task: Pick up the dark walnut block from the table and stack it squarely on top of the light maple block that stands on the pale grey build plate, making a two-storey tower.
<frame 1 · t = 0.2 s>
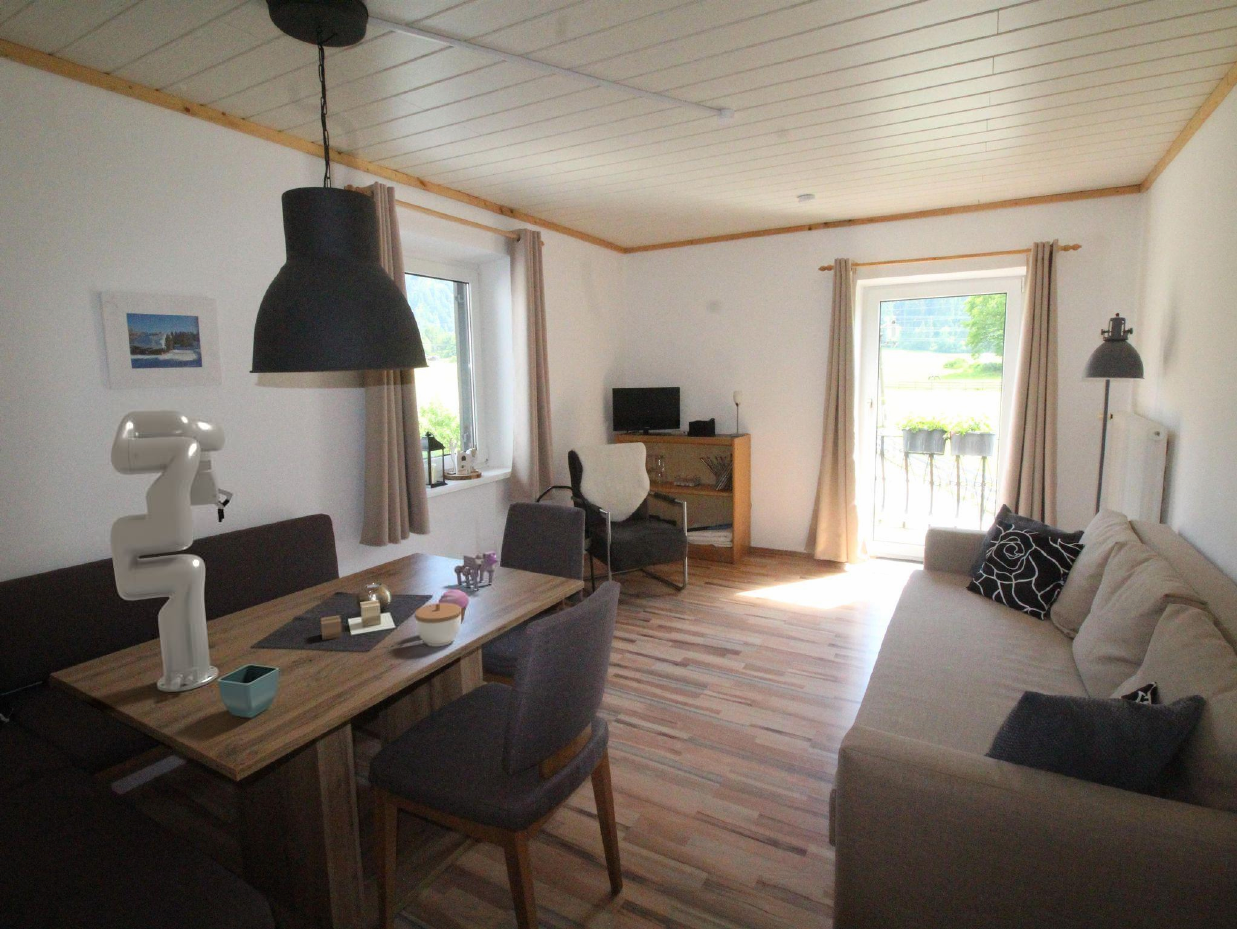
hand: (201, 523, 197), 31 cm above the table, tool pointing down, fingers open, 9 cm apart
cupcake: (454, 623, 198), on the table
flower pot: (251, 712, 145), on the table
build plate: (371, 626, 195), on the table
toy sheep: (481, 587, 233), on the table
maple block: (371, 623, 195), point 1 cm above the table, touching build plate
walnut block: (332, 639, 186), on the table
lidded bowl: (439, 642, 184), on the table
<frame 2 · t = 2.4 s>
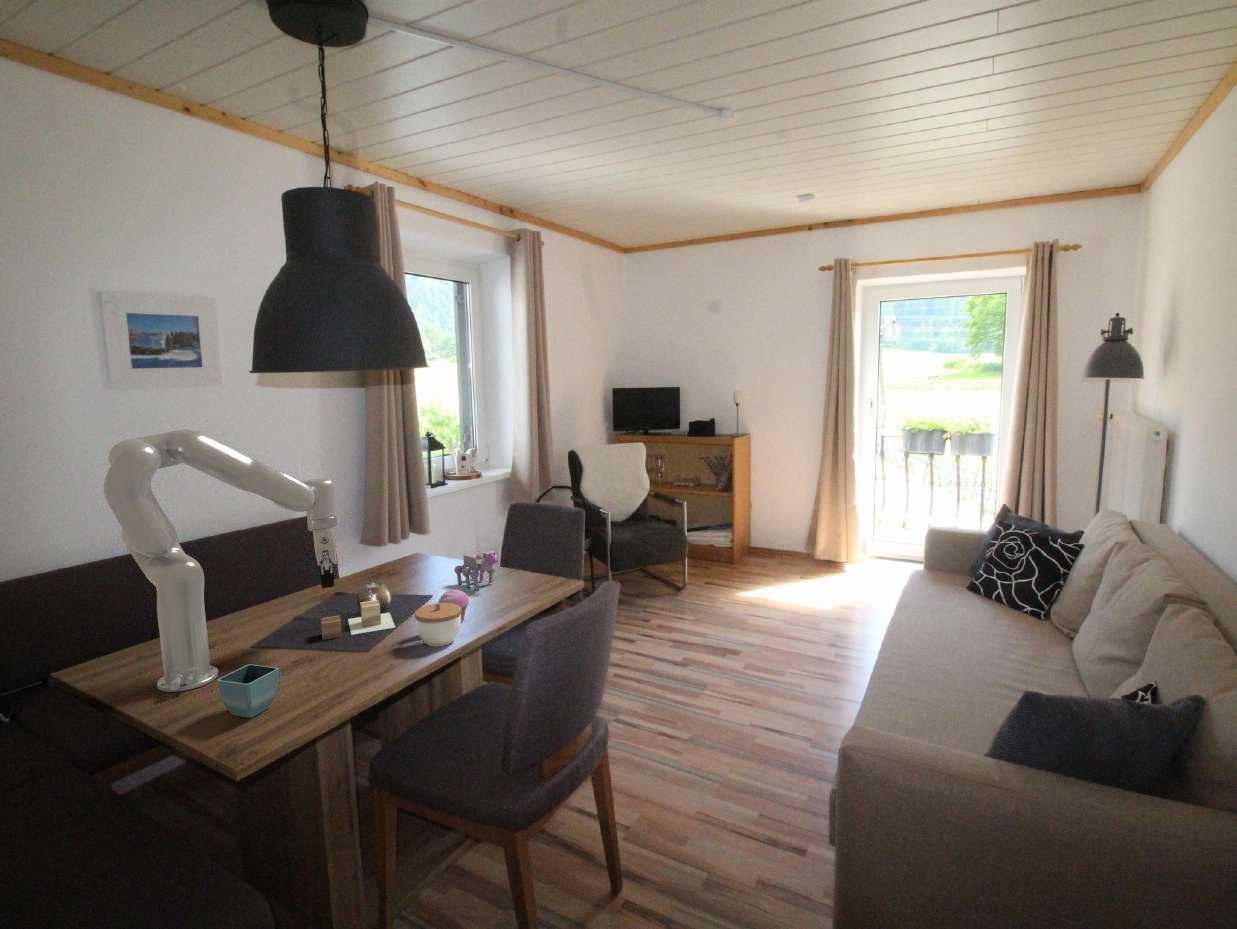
hand: (327, 582, 184), 17 cm above the table, tool pointing down, fingers open, 9 cm apart
nothing on the table moved.
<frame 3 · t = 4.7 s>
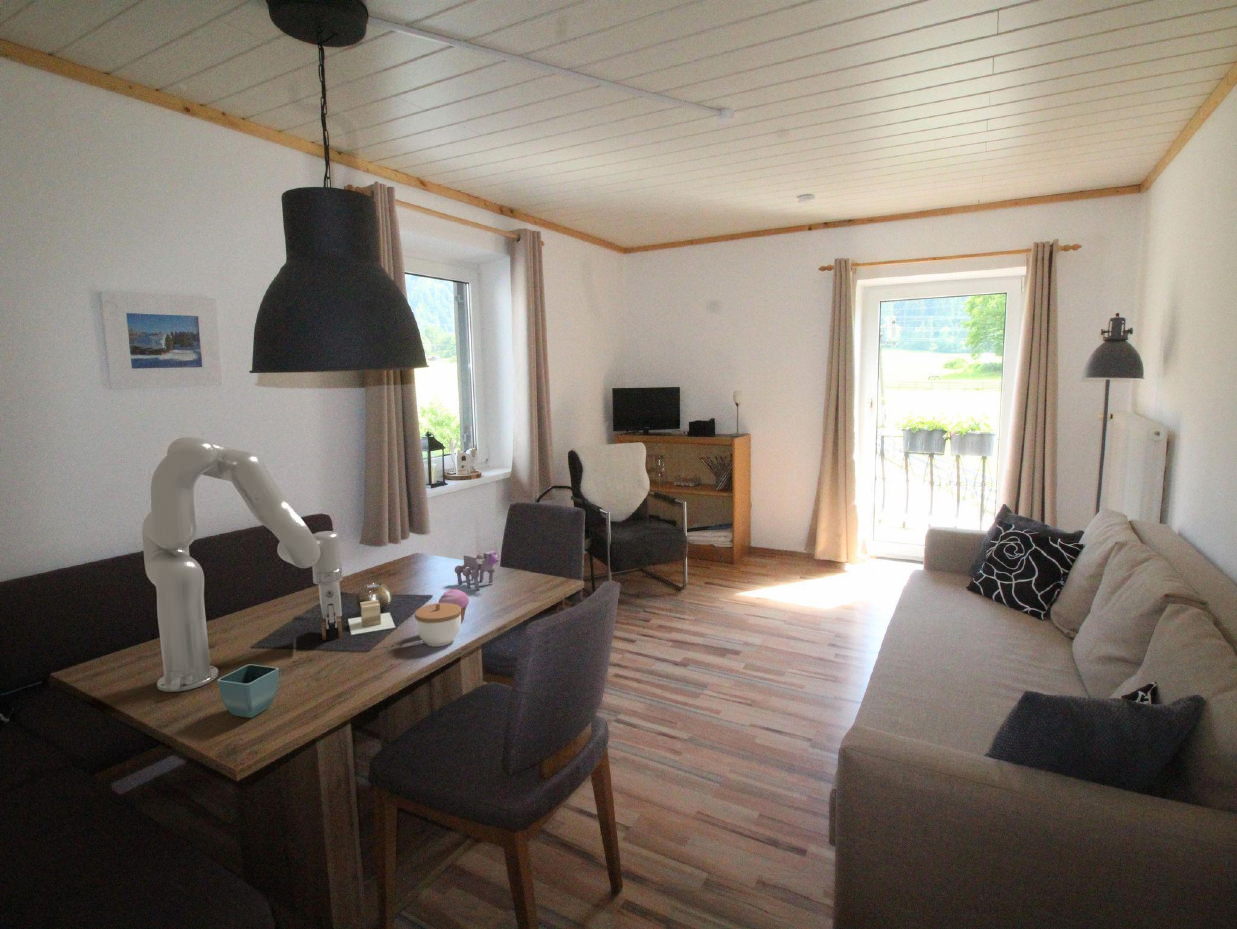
hand: (332, 637, 186), 1 cm above the table, tool pointing down, fingers closed on walnut block, 5 cm apart
walnut block: (332, 639, 186), on the table, touching gripper
everything else where it was.
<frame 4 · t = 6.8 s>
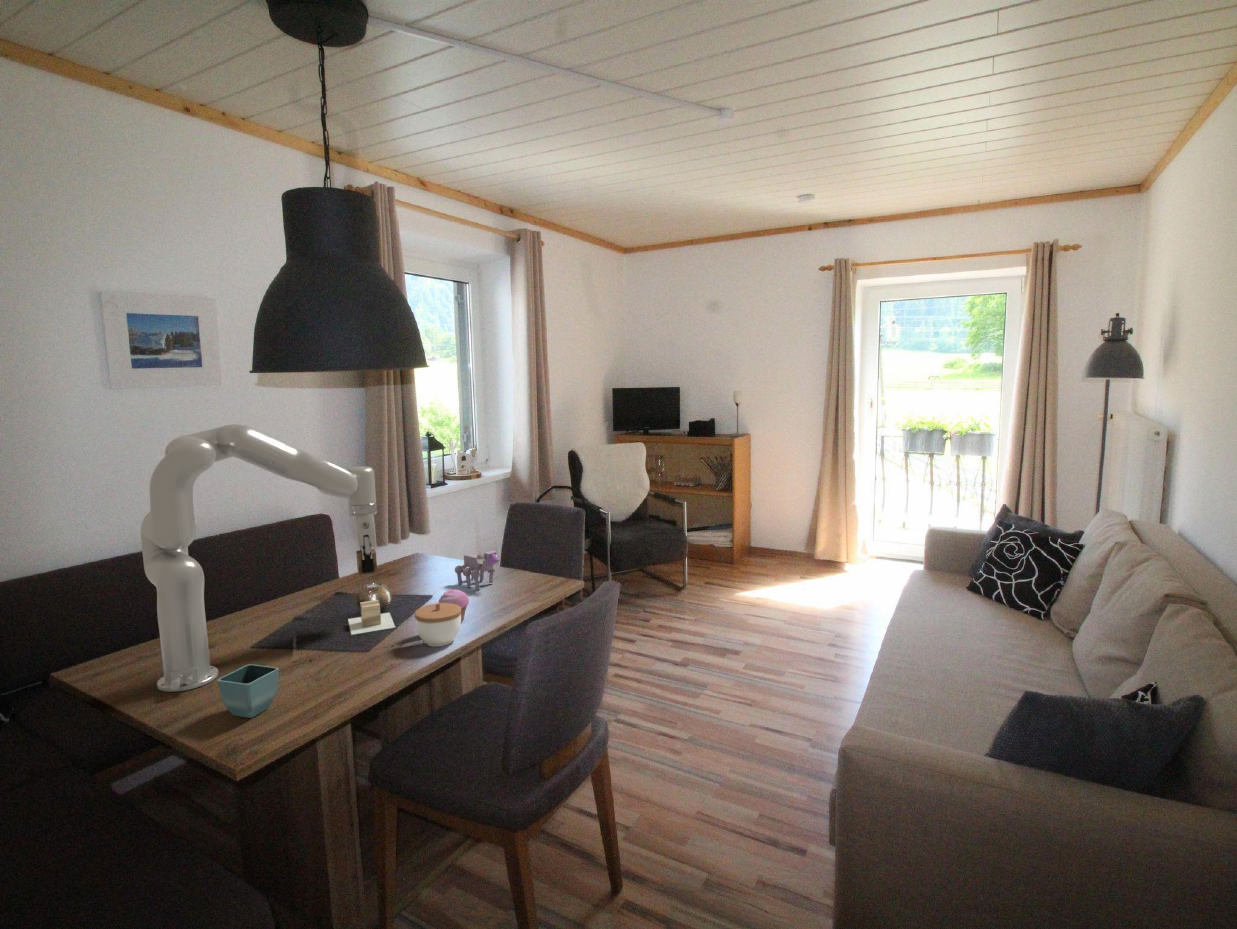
hand: (367, 569, 193), 18 cm above the table, tool pointing down, fingers closed on walnut block, 5 cm apart
walnut block: (367, 571, 193), point 17 cm above the table, touching gripper
everything else where it was.
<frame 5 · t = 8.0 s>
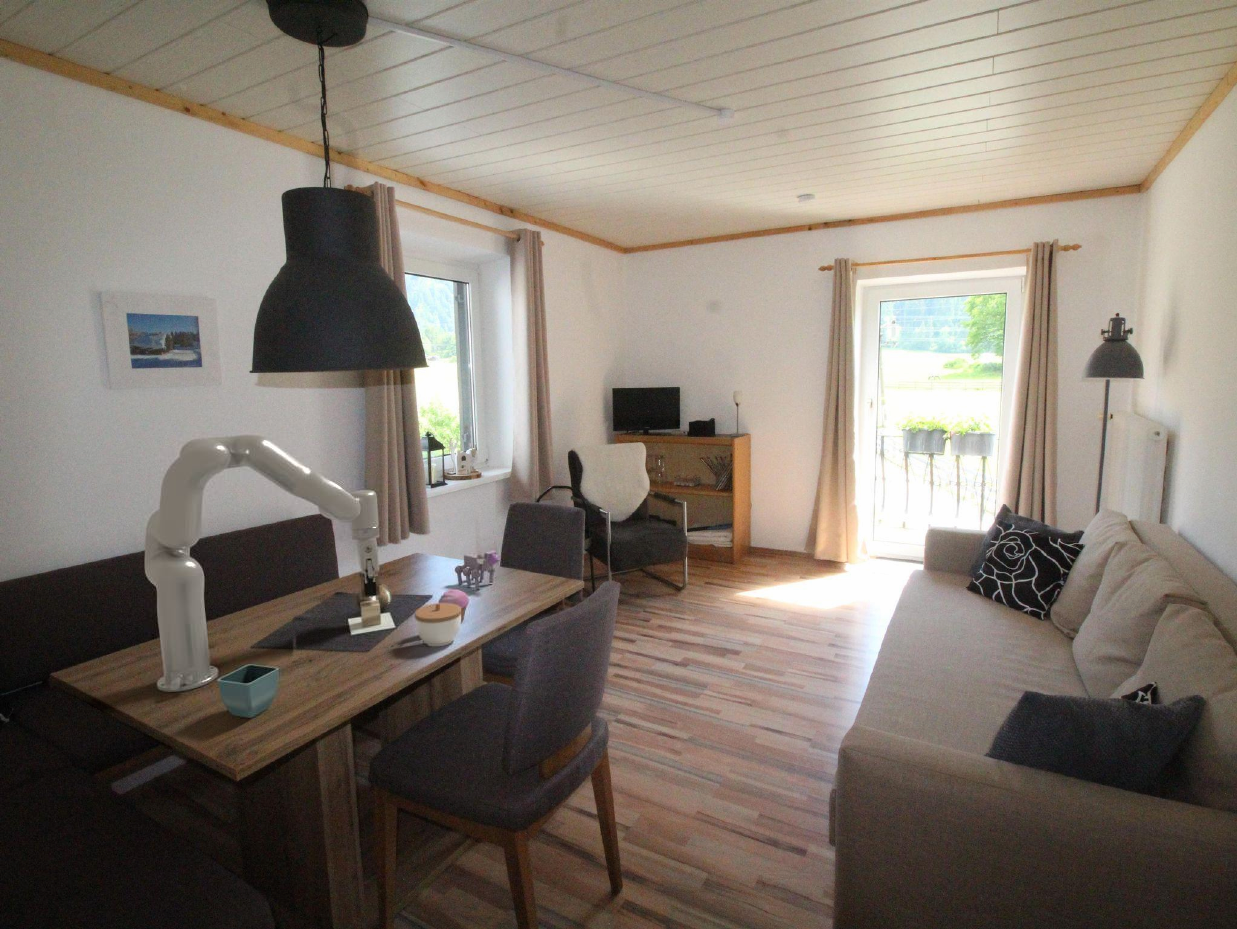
hand: (369, 591, 194), 11 cm above the table, tool pointing down, fingers closed on walnut block, 5 cm apart
walnut block: (370, 594, 194), point 10 cm above the table, touching gripper
everything else where it was.
when the fingers open (9 cm above the table, at t = 8.8 s): walnut block stays where it is, resting on maple block.
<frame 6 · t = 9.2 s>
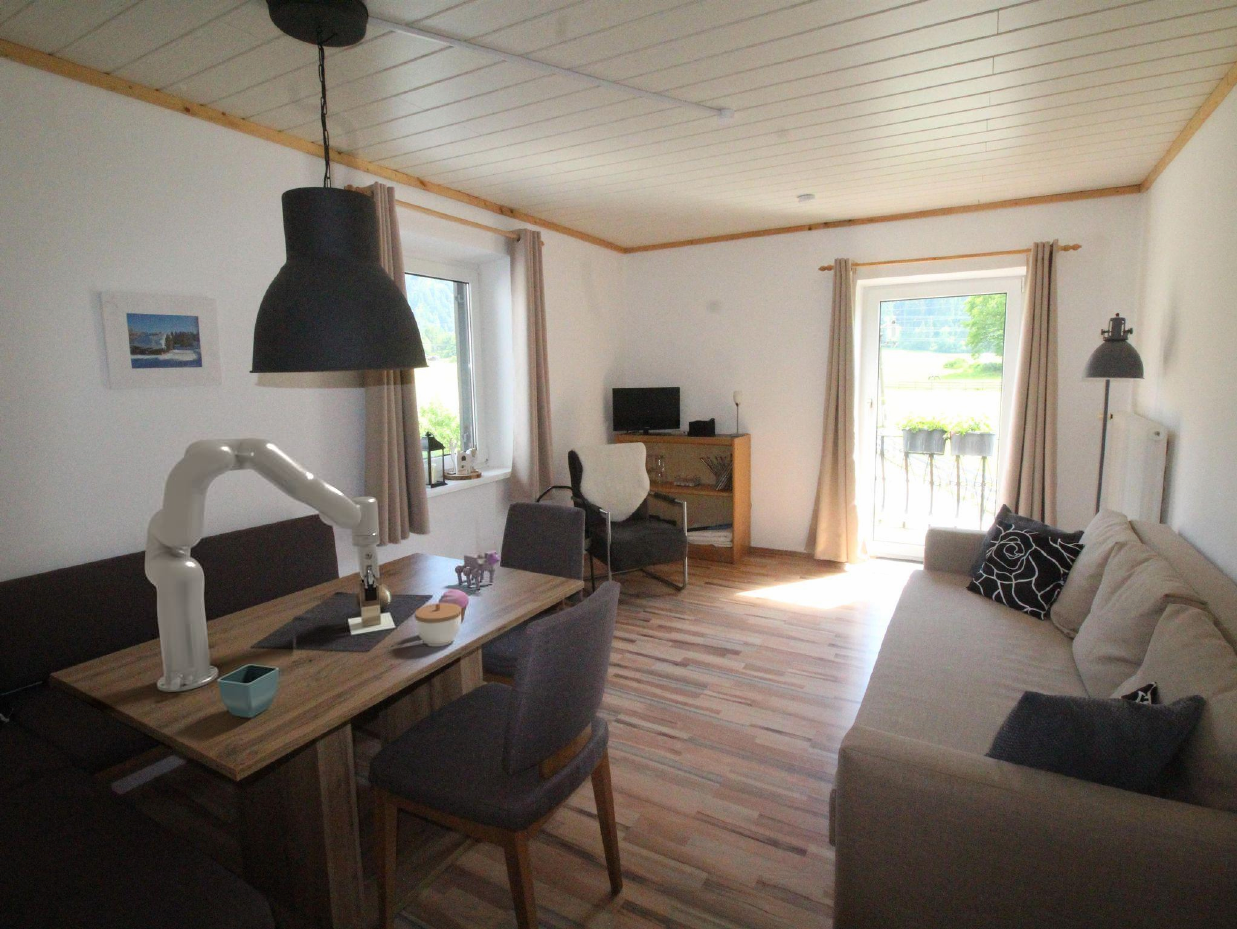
hand: (369, 595, 194), 10 cm above the table, tool pointing down, fingers open, 9 cm apart
maple block: (371, 623, 195), point 1 cm above the table, touching build plate, walnut block
walnut block: (369, 603, 194), point 7 cm above the table, touching maple block
everything else where it was.
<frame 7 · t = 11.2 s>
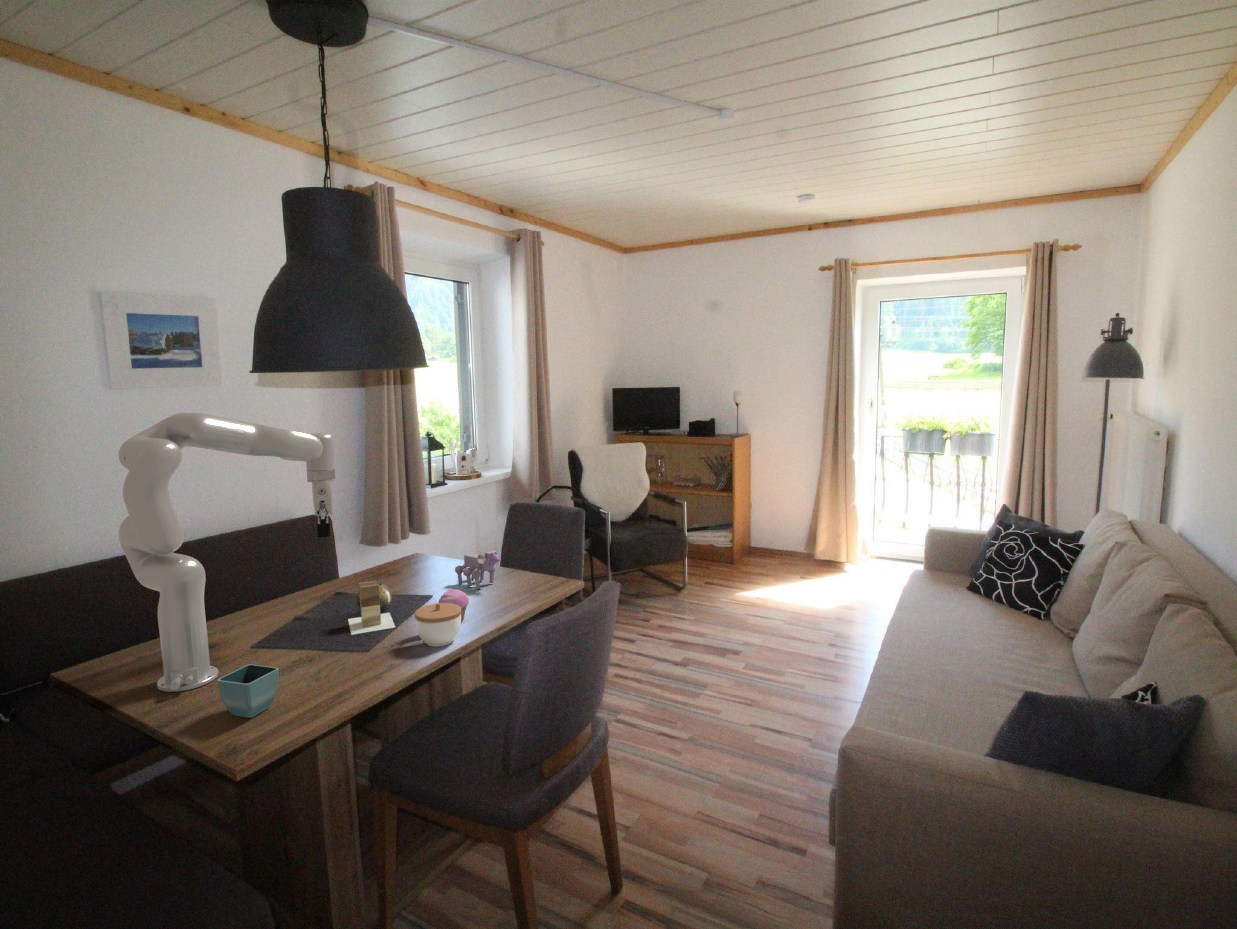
hand: (323, 533, 192), 29 cm above the table, tool pointing down, fingers open, 9 cm apart
nothing on the table moved.
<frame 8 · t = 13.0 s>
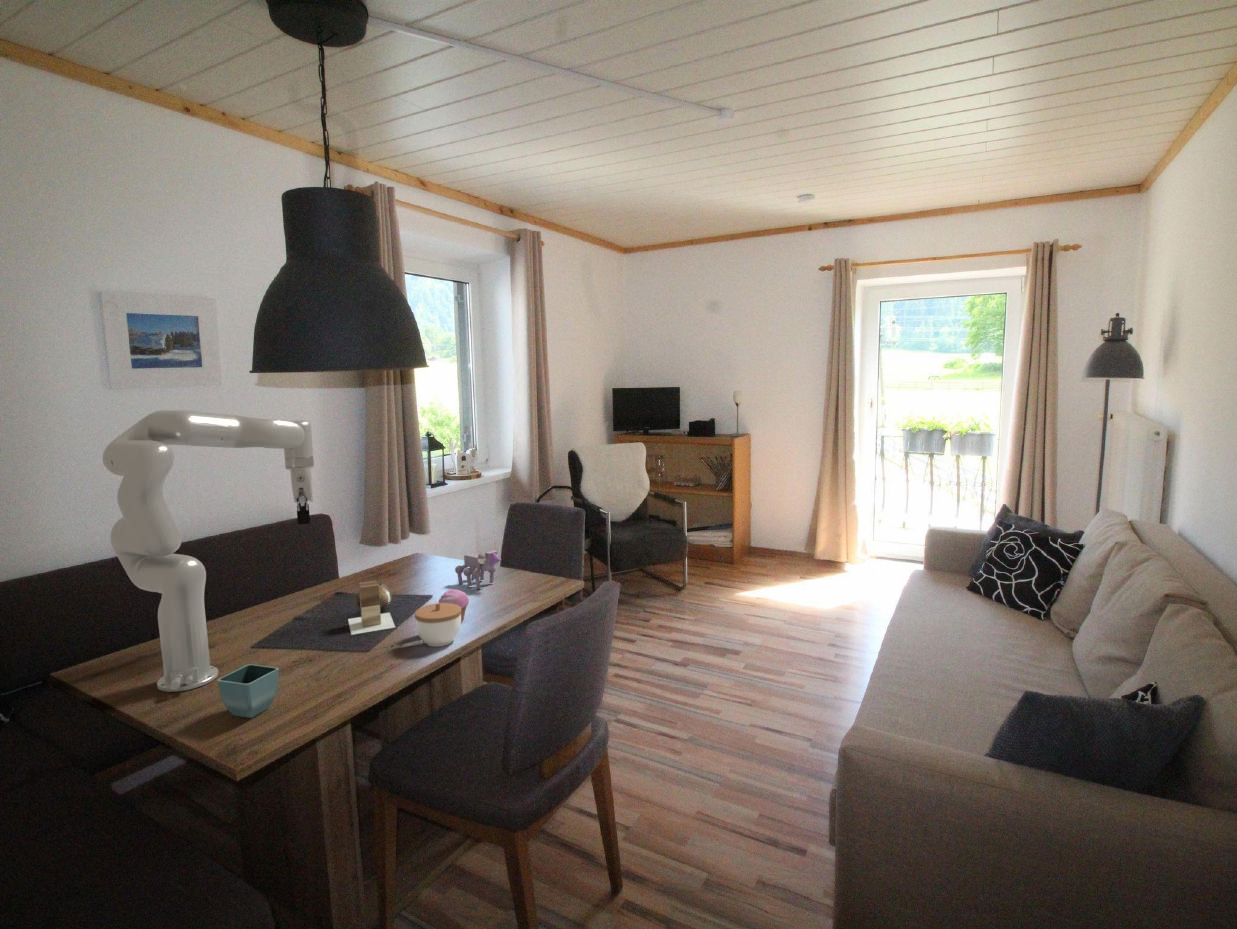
hand: (303, 520, 192), 32 cm above the table, tool pointing down, fingers open, 9 cm apart
nothing on the table moved.
at the end: walnut block 0.0 cm off-centre on the maple block, point 6.0 cm above the maple block's base; walnut block tilted 0°; maple block moved 0.0 cm from its start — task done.
